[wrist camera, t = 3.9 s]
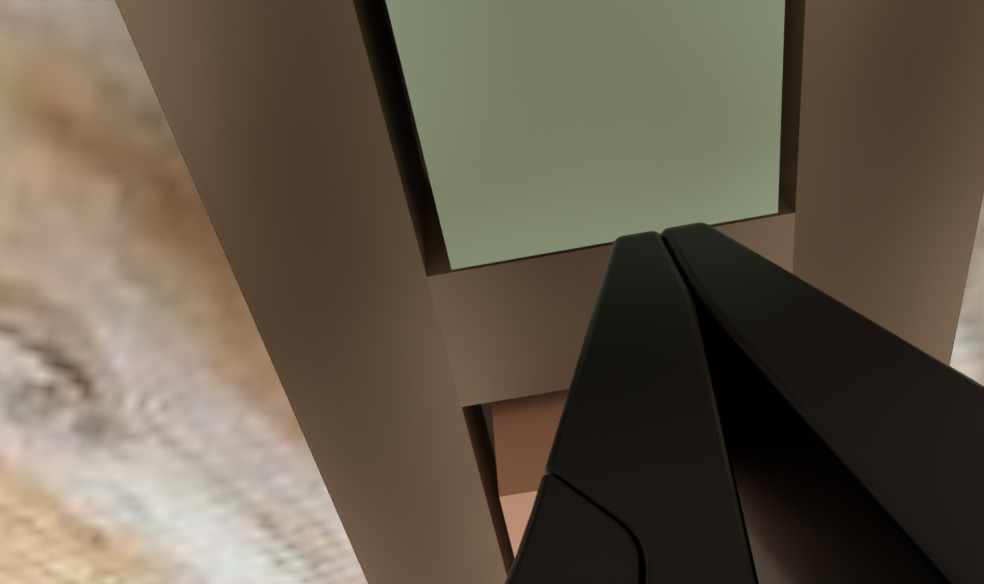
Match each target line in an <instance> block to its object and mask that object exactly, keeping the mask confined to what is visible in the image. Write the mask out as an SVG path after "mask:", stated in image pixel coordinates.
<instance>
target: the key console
mask: <svg viewBox="0 0 984 584" xmlns="http://www.w3.org/2000/svg"><path fill="white" fill-rule="evenodd" d="M115 1H116V3H117V5H118V8H119V10H120V12H121V15H122V17H123V19H124V22H125V24H126V26H127V28H128V31H129V33H130V35H131V38H132V40H133V42H134V45H135V47H136V49H137V52H138V54H139V56H140V58H141V61H142V63H143V65H144V68H145V70H146V72H147V75H148V77H149V79H150V81H151V84H152V86H153V88H154V91H155V93H156V95H157V98H158V100H159V102H160V105H161V107H162V109H163V111H164V114H165V116H166V118H167V121H168V123H169V125H170V128H171V130H172V132H173V135H174V137H175V139H176V141H177V144H178V146H179V148H180V151H181V153H182V155H183V158H184V160H185V162H186V165H187V167H188V169H189V171H190V174H191V176H192V178H193V181H194V183H195V185H196V188H197V190H198V192H199V194H200V197H201V199H202V201H203V204H204V206H205V208H206V211H207V213H208V215H209V218H210V220H211V222H212V224H213V227H214V229H215V231H216V234H217V236H218V238H219V241H220V243H221V245H222V248H223V250H224V252H225V254H226V257H227V259H228V261H229V264H230V266H231V268H232V271H233V273H234V275H235V278H236V280H237V282H238V284H239V287H240V289H241V291H242V294H243V296H244V298H245V301H246V303H247V305H248V307H249V310H250V312H251V314H252V317H253V319H254V321H255V324H256V326H257V328H258V331H259V333H260V335H261V337H262V340H263V342H264V344H265V347H266V349H267V351H268V354H269V356H270V358H271V361H272V363H273V365H274V367H275V370H276V372H277V374H278V377H279V379H280V381H281V384H282V386H283V388H284V391H285V393H286V395H287V397H288V400H289V402H290V404H291V407H292V409H293V411H294V414H295V416H296V418H297V420H298V423H299V425H300V427H301V430H302V432H303V434H304V437H305V439H306V441H307V444H308V446H309V448H310V450H311V453H312V455H313V457H314V460H315V462H316V464H317V467H318V469H319V471H320V474H321V476H322V478H323V480H324V483H325V485H326V487H327V490H328V492H329V494H330V497H331V499H332V501H333V503H334V506H335V508H336V510H337V513H338V515H339V517H340V520H341V522H342V524H343V527H344V529H345V531H346V533H347V536H348V538H349V540H350V543H351V545H352V547H353V550H354V552H355V554H356V557H357V559H358V561H359V563H360V566H361V568H362V570H363V573H364V575H365V577H366V580H367V582H368V584H504V583H505V581H506V578H507V576H508V574H509V571H510V569H511V567H512V565H513V562H514V559H515V558H514V554H513V550H512V546H511V542H510V538H509V534H508V530H507V526H506V522H505V518H504V514H503V510H502V506H501V502H500V498H499V489H498V477H497V465H496V453H495V441H494V429H493V417H492V405H491V402H494V401H500V400H506V399H512V398H518V397H524V396H530V395H537V394H543V393H549V392H555V391H561V390H567V389H569V388H570V385H571V381H572V378H573V375H574V371H575V368H576V365H577V362H578V358H579V355H580V352H581V348H582V345H583V342H584V339H585V335H586V332H587V329H588V325H589V322H590V319H591V316H592V312H593V309H594V306H595V303H596V299H597V296H598V293H599V289H600V286H601V283H602V280H603V276H604V273H605V270H606V266H607V263H608V260H609V257H610V253H611V250H612V247H613V244H614V241H613V242H608V243H602V244H596V245H590V246H585V247H579V248H573V249H568V250H562V251H556V252H550V253H545V254H539V255H533V256H527V257H522V258H516V259H510V260H505V261H499V262H493V263H487V264H482V265H476V266H470V267H464V268H459V269H453V270H452V269H451V265H450V261H449V257H448V253H447V249H446V245H445V241H444V237H443V233H442V229H441V225H440V221H439V216H438V212H437V208H436V204H435V200H434V196H433V192H432V188H431V184H430V180H429V176H428V172H427V167H426V163H425V159H424V155H423V151H422V147H421V143H420V139H419V135H418V131H417V127H416V123H415V119H414V114H413V110H412V106H411V102H410V98H409V94H408V90H407V86H406V82H405V78H404V74H403V70H402V65H401V61H400V57H399V53H398V49H397V45H396V41H395V37H394V33H393V29H392V25H391V21H390V17H389V12H388V8H387V4H386V0H115ZM983 194H984V0H785V16H784V46H783V76H782V106H781V135H780V165H779V195H778V213H774V214H768V215H762V216H757V217H751V218H745V219H739V220H734V221H728V222H722V223H716V224H711V225H710V226H712V227H713V228H715V229H717V230H719V231H720V232H722V233H724V234H725V235H727V236H729V237H730V238H732V239H734V240H736V241H737V242H739V243H741V244H742V245H744V246H746V247H748V248H749V249H751V250H753V251H754V252H756V253H758V254H759V255H761V256H763V257H765V258H766V259H768V260H770V261H771V262H773V263H775V264H777V265H778V266H780V267H782V268H783V269H785V270H787V271H788V272H790V273H792V274H794V275H795V276H797V277H799V278H800V279H802V280H804V281H805V282H807V283H809V284H811V285H812V286H814V287H816V288H817V289H819V290H821V291H823V292H824V293H826V294H828V295H829V296H831V297H833V298H834V299H836V300H838V301H840V302H841V303H843V304H845V305H846V306H848V307H850V308H852V309H853V310H855V311H857V312H858V313H860V314H862V315H863V316H865V317H867V318H869V319H870V320H872V321H874V322H875V323H877V324H879V325H880V326H882V327H884V328H886V329H887V330H889V331H891V332H892V333H894V334H896V335H898V336H899V337H901V338H903V339H904V340H906V341H908V342H909V343H911V344H913V345H915V346H916V347H918V348H920V349H921V350H923V351H925V352H927V353H928V354H930V355H932V356H933V357H935V358H937V359H938V360H940V361H942V362H944V363H945V364H947V365H950V360H951V355H952V350H953V345H954V340H955V335H956V330H957V324H958V319H959V314H960V309H961V304H962V299H963V294H964V289H965V284H966V279H967V274H968V269H969V264H970V259H971V254H972V249H973V244H974V239H975V234H976V229H977V224H978V219H979V214H980V209H981V204H982V199H983ZM659 234H660V235H661V233H659Z"/></svg>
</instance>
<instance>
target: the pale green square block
mask: <svg viewBox="0 0 984 584" xmlns="http://www.w3.org/2000/svg"><path fill="white" fill-rule="evenodd" d="M386 4H387V8H388V12H389V17H390V21H391V25H392V29H393V33H394V37H395V41H396V45H397V49H398V53H399V57H400V61H401V65H402V70H403V74H404V78H405V82H406V86H407V90H408V94H409V98H410V102H411V106H412V110H413V114H414V119H415V123H416V127H417V131H418V135H419V139H420V143H421V147H422V151H423V155H424V159H425V163H426V167H427V172H428V176H429V180H430V184H431V188H432V192H433V196H434V200H435V204H436V208H437V212H438V216H439V221H440V225H441V229H442V233H443V237H444V241H445V245H446V249H447V253H448V257H449V261H450V265H451V269H452V270H453V269H459V268H464V267H470V266H476V265H482V264H487V263H493V262H499V261H505V260H510V259H516V258H522V257H527V256H533V255H539V254H545V253H550V252H556V251H562V250H568V249H573V248H579V247H585V246H590V245H596V244H602V243H608V242H613V241H615V240H616V239H617V238H618V237H620V236H625V235H630V234H636V233H642V232H648V231H656V232H658V233H662V231H663V230H664V229H666V228H670V227H676V226H681V225H687V224H692V223H698V222H702V223H706V224H708V225H711V224H716V223H722V222H728V221H734V220H739V219H745V218H751V217H757V216H762V215H768V214H774V213H778V195H779V165H780V135H781V106H782V76H783V46H784V16H785V0H386Z"/></svg>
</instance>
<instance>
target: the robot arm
mask: <svg viewBox="0 0 984 584" xmlns="http://www.w3.org/2000/svg"><path fill="white" fill-rule="evenodd" d="M504 584H984V386H983V385H981V384H979V383H978V382H976V381H974V380H973V379H971V378H969V377H967V376H966V375H964V374H962V373H961V372H959V371H957V370H955V369H954V368H952V367H950V366H949V365H947V364H945V363H944V362H942V361H940V360H938V359H937V358H935V357H933V356H932V355H930V354H928V353H927V352H925V351H923V350H921V349H920V348H918V347H916V346H915V345H913V344H911V343H909V342H908V341H906V340H904V339H903V338H901V337H899V336H898V335H896V334H894V333H892V332H891V331H889V330H887V329H886V328H884V327H882V326H880V325H879V324H877V323H875V322H874V321H872V320H870V319H869V318H867V317H865V316H863V315H862V314H860V313H858V312H857V311H855V310H853V309H852V308H850V307H848V306H846V305H845V304H843V303H841V302H840V301H838V300H836V299H834V298H833V297H831V296H829V295H828V294H826V293H824V292H823V291H821V290H819V289H817V288H816V287H814V286H812V285H811V284H809V283H807V282H805V281H804V280H802V279H800V278H799V277H797V276H795V275H794V274H792V273H790V272H788V271H787V270H785V269H783V268H782V267H780V266H778V265H777V264H775V263H773V262H771V261H770V260H768V259H766V258H765V257H763V256H761V255H759V254H758V253H756V252H754V251H753V250H751V249H749V248H748V247H746V246H744V245H742V244H741V243H739V242H737V241H736V240H734V239H732V238H730V237H729V236H727V235H725V234H724V233H722V232H720V231H719V230H717V229H715V228H713V227H712V226H710V225H708V224H706V223H702V222H698V223H692V224H687V225H681V226H676V227H670V228H666V229H664V230H663V231H662V233H661V235H660V234H659V233H658V232H656V231H648V232H642V233H636V234H630V235H625V236H620V237H618V238H617V239H616V240H615V241H614V244H613V247H612V250H611V253H610V257H609V260H608V263H607V266H606V270H605V273H604V276H603V280H602V283H601V286H600V289H599V293H598V296H597V299H596V303H595V306H594V309H593V312H592V316H591V319H590V322H589V325H588V329H587V332H586V335H585V339H584V342H583V345H582V348H581V352H580V355H579V358H578V362H577V365H576V368H575V371H574V375H573V378H572V381H571V385H570V388H569V391H568V394H567V398H566V401H565V404H564V408H563V411H562V414H561V417H560V421H559V424H558V427H557V431H556V434H555V437H554V440H553V444H552V447H551V450H550V453H549V457H548V460H547V463H546V467H545V475H544V476H543V477H542V478H541V481H540V485H539V488H538V491H537V494H536V498H535V501H534V504H533V507H532V511H531V514H530V516H529V519H528V522H527V525H526V528H525V531H524V534H523V536H522V539H521V542H520V545H519V548H518V551H517V553H516V556H515V559H514V562H513V565H512V567H511V569H510V571H509V574H508V576H507V578H506V581H505V583H504Z"/></svg>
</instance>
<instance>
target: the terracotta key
mask: <svg viewBox="0 0 984 584" xmlns="http://www.w3.org/2000/svg"><path fill="white" fill-rule="evenodd" d="M568 391H569V389H567V390H561V391H555V392H549V393H543V394H537V395H530V396H524V397H518V398H512V399H506V400H500V401H494V402H491V405H492V417H493V429H494V441H495V453H496V465H497V477H498V489H499V498H500V502H501V506H502V510H503V514H504V518H505V522H506V526H507V530H508V534H509V538H510V542H511V546H512V550H513V554H514V558H515V556H516V553H517V551H518V548H519V545H520V542H521V539H522V536H523V534H524V531H525V528H526V525H527V522H528V519H529V516H530V514H531V511H532V507H533V504H534V501H535V498H536V494H537V491H538V488H539V485H540V481H541V478H542V477H543V476H544V475H545V467H546V463H547V460H548V457H549V453H550V450H551V447H552V444H553V440H554V437H555V434H556V431H557V427H558V424H559V421H560V417H561V414H562V411H563V408H564V404H565V401H566V398H567V394H568Z"/></svg>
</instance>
